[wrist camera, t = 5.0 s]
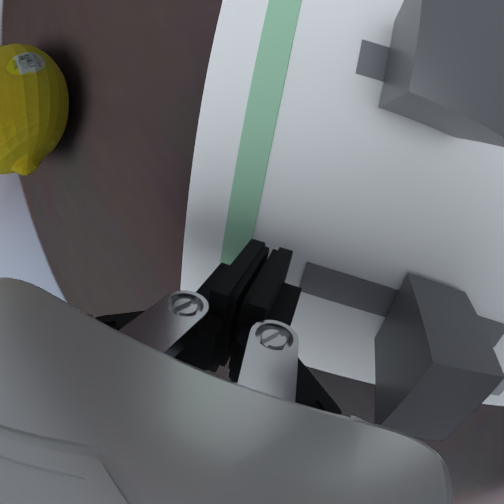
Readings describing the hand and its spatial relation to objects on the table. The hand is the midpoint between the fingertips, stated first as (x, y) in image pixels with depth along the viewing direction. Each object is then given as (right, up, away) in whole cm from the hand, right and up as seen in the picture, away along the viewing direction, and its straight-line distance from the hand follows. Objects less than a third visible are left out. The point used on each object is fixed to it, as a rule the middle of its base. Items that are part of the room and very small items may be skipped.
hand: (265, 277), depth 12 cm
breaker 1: (+5, +7, -4) cm, 10 cm away
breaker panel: (+9, +7, -2) cm, 12 cm away
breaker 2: (+7, -2, -1) cm, 7 cm away
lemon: (-15, +12, +4) cm, 20 cm away
